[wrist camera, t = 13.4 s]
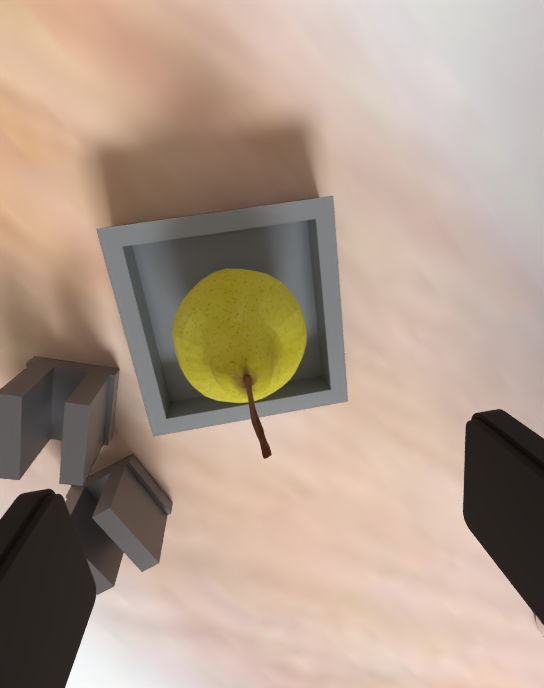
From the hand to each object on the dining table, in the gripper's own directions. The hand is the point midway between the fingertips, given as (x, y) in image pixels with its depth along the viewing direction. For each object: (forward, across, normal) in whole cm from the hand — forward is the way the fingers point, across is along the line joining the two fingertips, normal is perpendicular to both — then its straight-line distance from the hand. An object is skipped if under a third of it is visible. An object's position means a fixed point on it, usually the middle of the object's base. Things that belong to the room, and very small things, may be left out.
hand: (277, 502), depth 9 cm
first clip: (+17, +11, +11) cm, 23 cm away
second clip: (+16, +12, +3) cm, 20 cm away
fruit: (+16, 0, -1) cm, 16 cm away
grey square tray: (+17, +1, -1) cm, 17 cm away
